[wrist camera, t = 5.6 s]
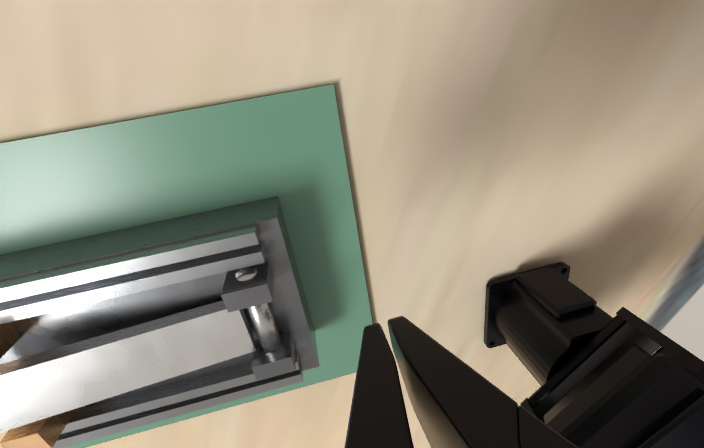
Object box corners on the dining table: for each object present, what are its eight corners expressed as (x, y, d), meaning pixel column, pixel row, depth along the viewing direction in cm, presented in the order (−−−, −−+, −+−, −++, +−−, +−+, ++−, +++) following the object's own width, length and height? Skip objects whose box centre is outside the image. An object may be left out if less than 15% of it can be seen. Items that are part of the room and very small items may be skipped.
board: (378, 361, 25) (379, 365, 25) (46, 453, 23) (42, 459, 22) (332, 84, 16) (333, 84, 16) (-226, 183, 14) (-240, 186, 13)
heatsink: (314, 330, 22) (323, 399, 18) (64, 396, 20) (1, 490, 16) (277, 196, 18) (276, 239, 13) (-47, 264, 16) (-181, 343, 11)
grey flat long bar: (255, 339, 17) (255, 350, 17) (5, 418, 15) (-7, 434, 15) (238, 295, 16) (237, 305, 15) (-39, 375, 14) (-54, 391, 13)
